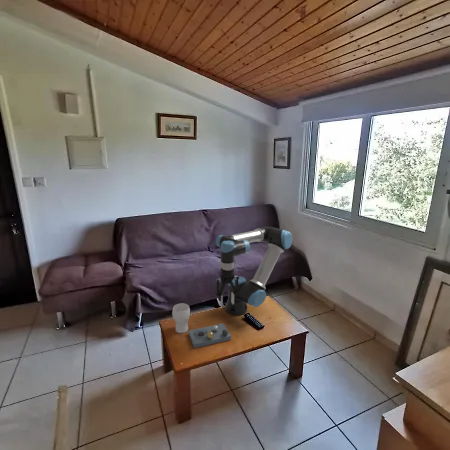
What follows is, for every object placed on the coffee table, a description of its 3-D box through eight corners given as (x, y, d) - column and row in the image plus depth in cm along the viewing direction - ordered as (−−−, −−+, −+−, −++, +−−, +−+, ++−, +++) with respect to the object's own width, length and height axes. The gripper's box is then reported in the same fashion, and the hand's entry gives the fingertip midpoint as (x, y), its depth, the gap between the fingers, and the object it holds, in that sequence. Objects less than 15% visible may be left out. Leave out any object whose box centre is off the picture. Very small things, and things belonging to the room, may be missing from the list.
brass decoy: (212, 335, 161) (212, 329, 160) (214, 339, 158) (214, 333, 156) (205, 336, 160) (205, 330, 159) (207, 341, 156) (207, 335, 155)
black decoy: (226, 332, 164) (226, 327, 163) (228, 336, 160) (228, 331, 160) (221, 333, 162) (221, 328, 162) (223, 337, 159) (223, 332, 158)
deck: (223, 326, 173) (223, 323, 172) (231, 339, 161) (231, 336, 161) (188, 334, 166) (188, 330, 165) (194, 348, 154) (193, 344, 153)
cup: (187, 335, 164) (186, 313, 160) (170, 333, 166) (169, 311, 162) (192, 325, 174) (192, 303, 170) (176, 322, 176) (176, 301, 172)
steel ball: (217, 328, 167) (217, 323, 166) (219, 331, 164) (219, 326, 163) (212, 329, 166) (212, 324, 165) (213, 333, 163) (213, 328, 162)
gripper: (240, 263, 164) (239, 298, 170) (209, 267, 157) (209, 303, 163) (245, 268, 157) (244, 304, 163) (213, 273, 150) (213, 310, 156)
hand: (226, 304), depth 163 cm, fingers open, 6 cm apart
